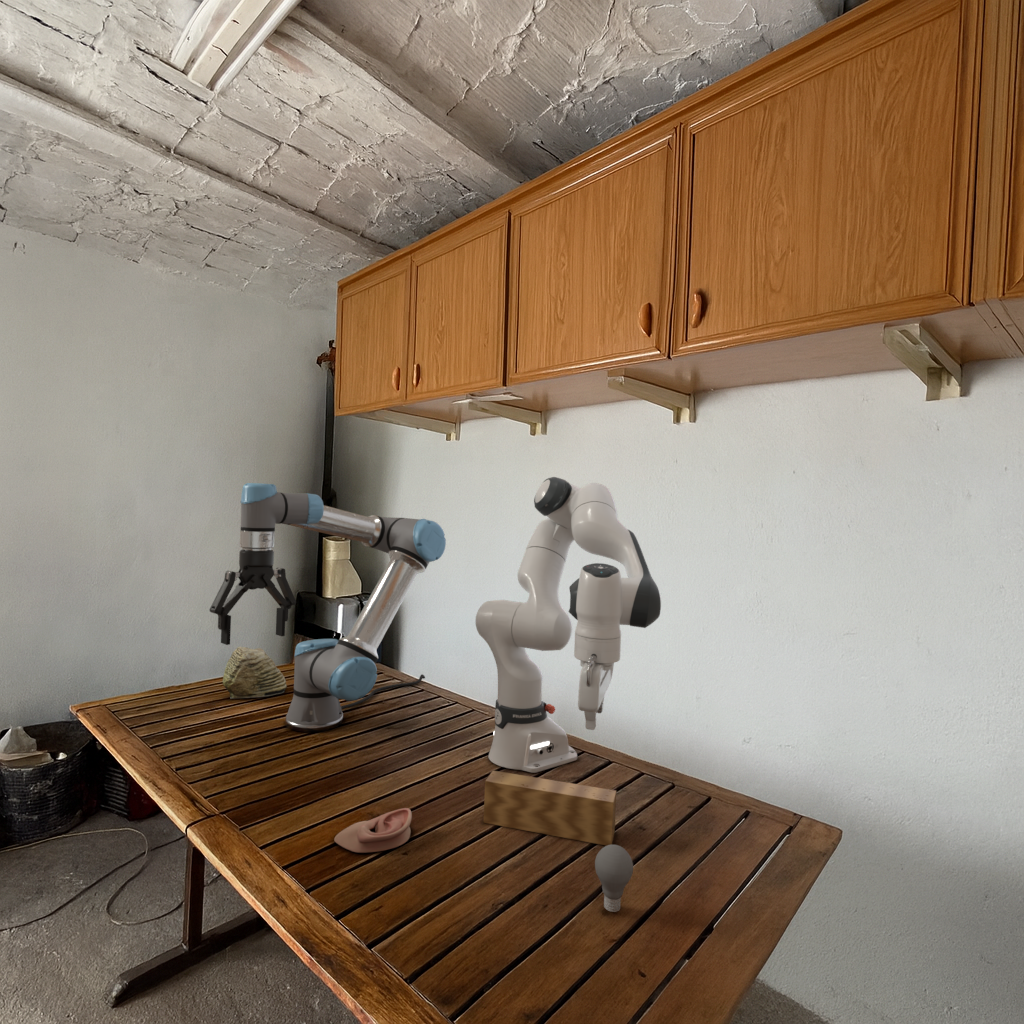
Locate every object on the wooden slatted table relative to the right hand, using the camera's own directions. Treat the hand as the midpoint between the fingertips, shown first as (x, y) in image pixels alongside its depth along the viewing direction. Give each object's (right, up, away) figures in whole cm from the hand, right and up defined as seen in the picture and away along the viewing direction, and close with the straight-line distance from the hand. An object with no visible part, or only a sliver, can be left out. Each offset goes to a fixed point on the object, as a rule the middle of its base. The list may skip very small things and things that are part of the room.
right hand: (594, 719), depth 122 cm
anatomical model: (-42, -21, -4) cm, 47 cm away
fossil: (-97, -17, +76) cm, 124 cm away
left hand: (-77, +10, +26) cm, 81 cm away
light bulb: (0, -23, -22) cm, 32 cm away
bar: (-9, -22, +3) cm, 24 cm away
